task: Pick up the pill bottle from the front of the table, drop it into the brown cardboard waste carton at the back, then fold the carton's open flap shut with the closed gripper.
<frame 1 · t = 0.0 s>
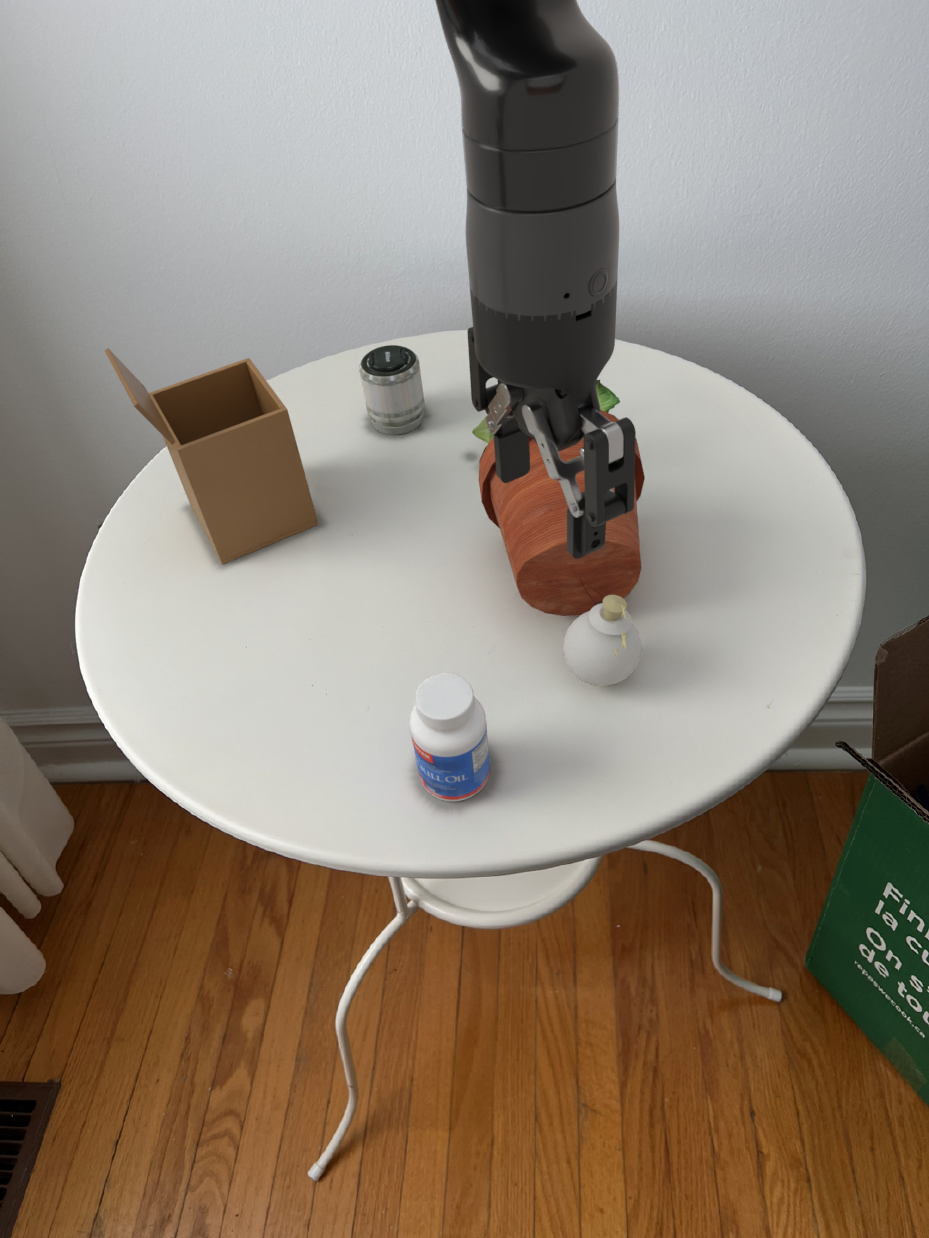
hand: (548, 512, 58), 20 cm above the table, tool pointing down, fingers open, 8 cm apart
potted plant: (551, 502, 89), on the table
flap: (139, 395, 78), point 16 cm above the table, hinge at 110.0°
camera lens: (398, 421, 100), on the table
waste carton: (253, 515, 91), on the table
pill bottle: (455, 774, 70), on the table
white potion bottle: (596, 679, 74), on the table
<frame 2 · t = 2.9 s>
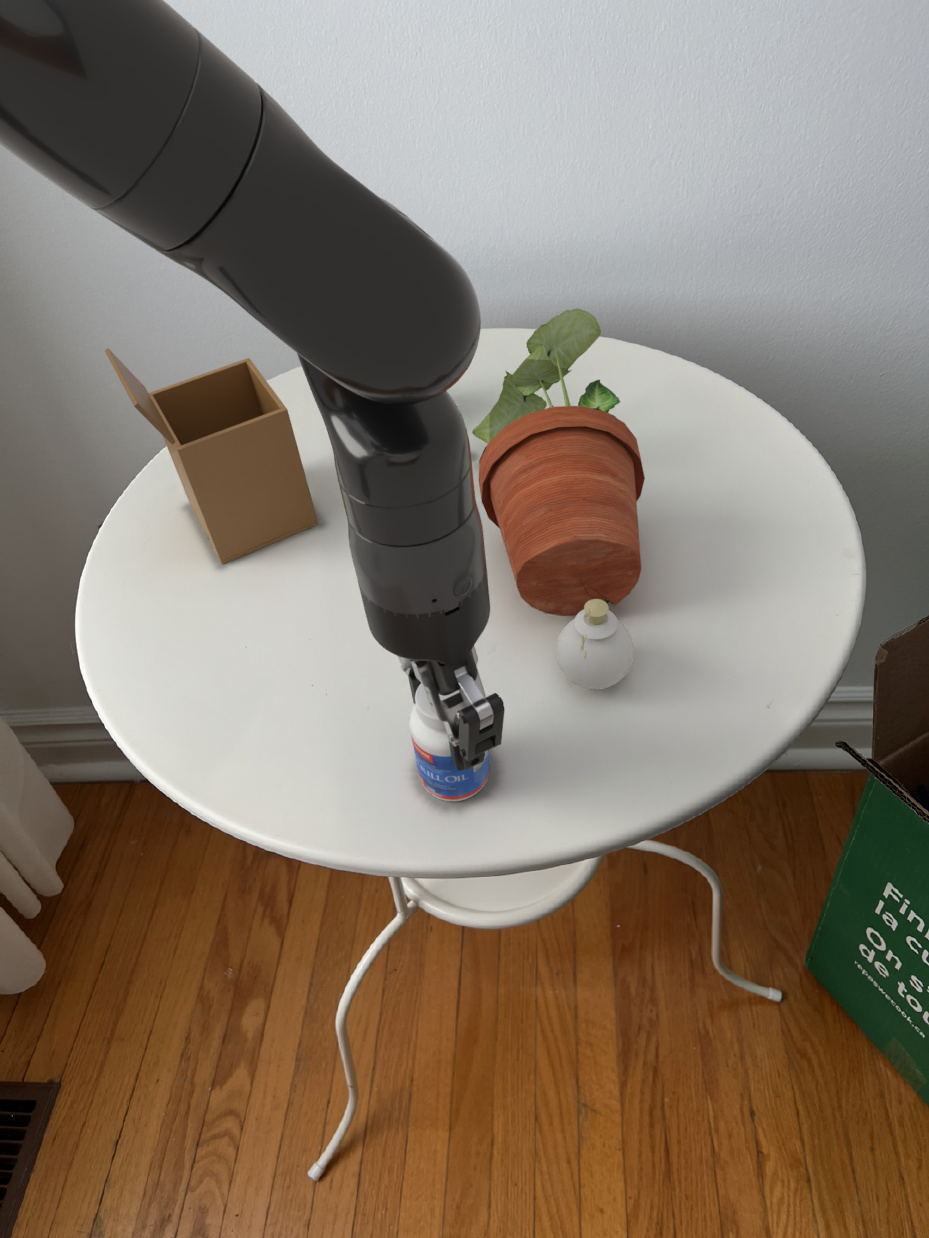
hand: (449, 731, 65), 6 cm above the table, tool pointing down, fingers closed on pill bottle, 5 cm apart
pill bottle: (455, 774, 70), on the table, touching gripper
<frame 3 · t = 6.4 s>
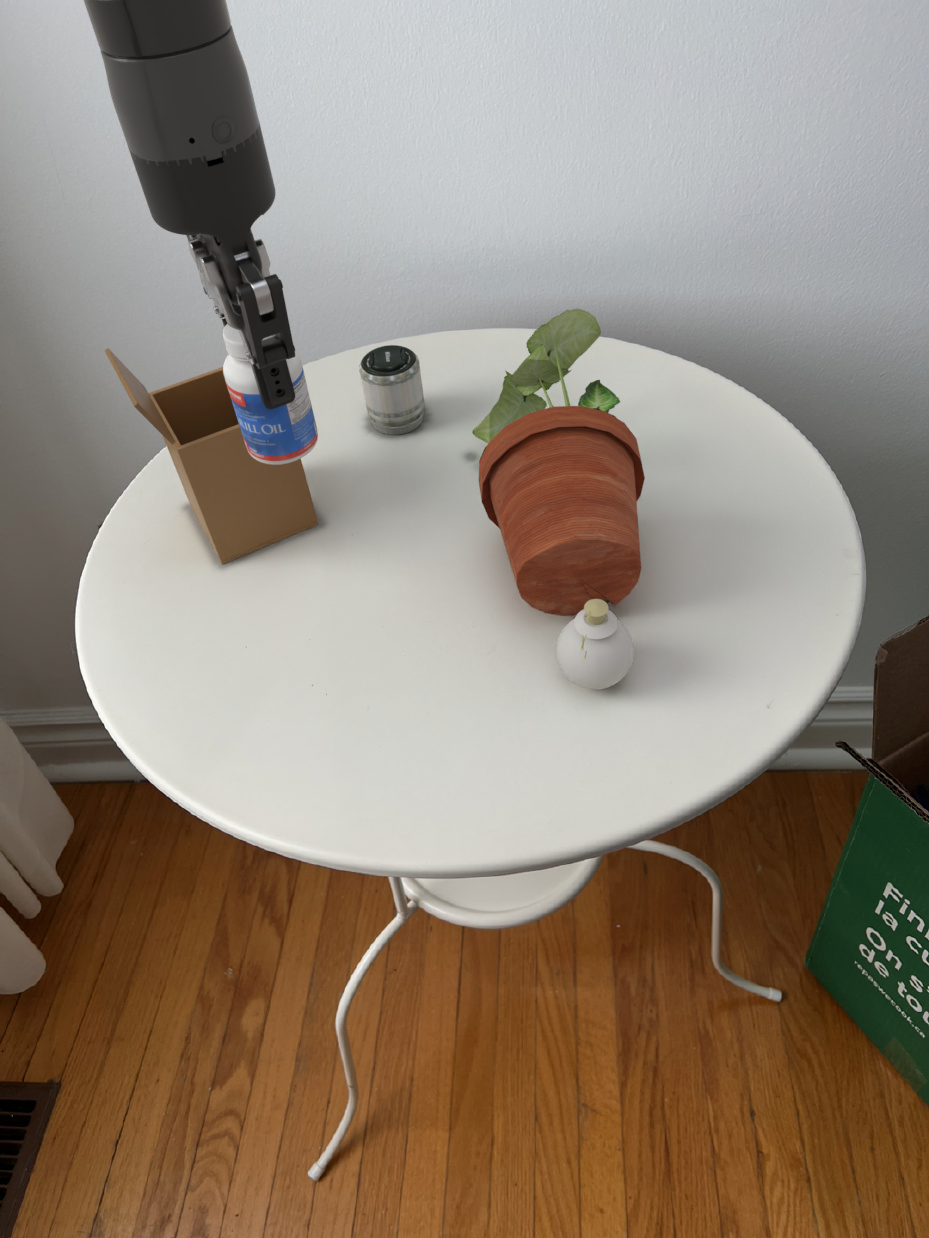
hand: (265, 381, 65), 24 cm above the table, tool pointing down, fingers closed on pill bottle, 5 cm apart
pill bottle: (284, 446, 69), point 18 cm above the table, touching gripper
when the fingers open (16 cm above the table, at t = 9.9 s): pill bottle drops 10 cm, resting on waste carton.
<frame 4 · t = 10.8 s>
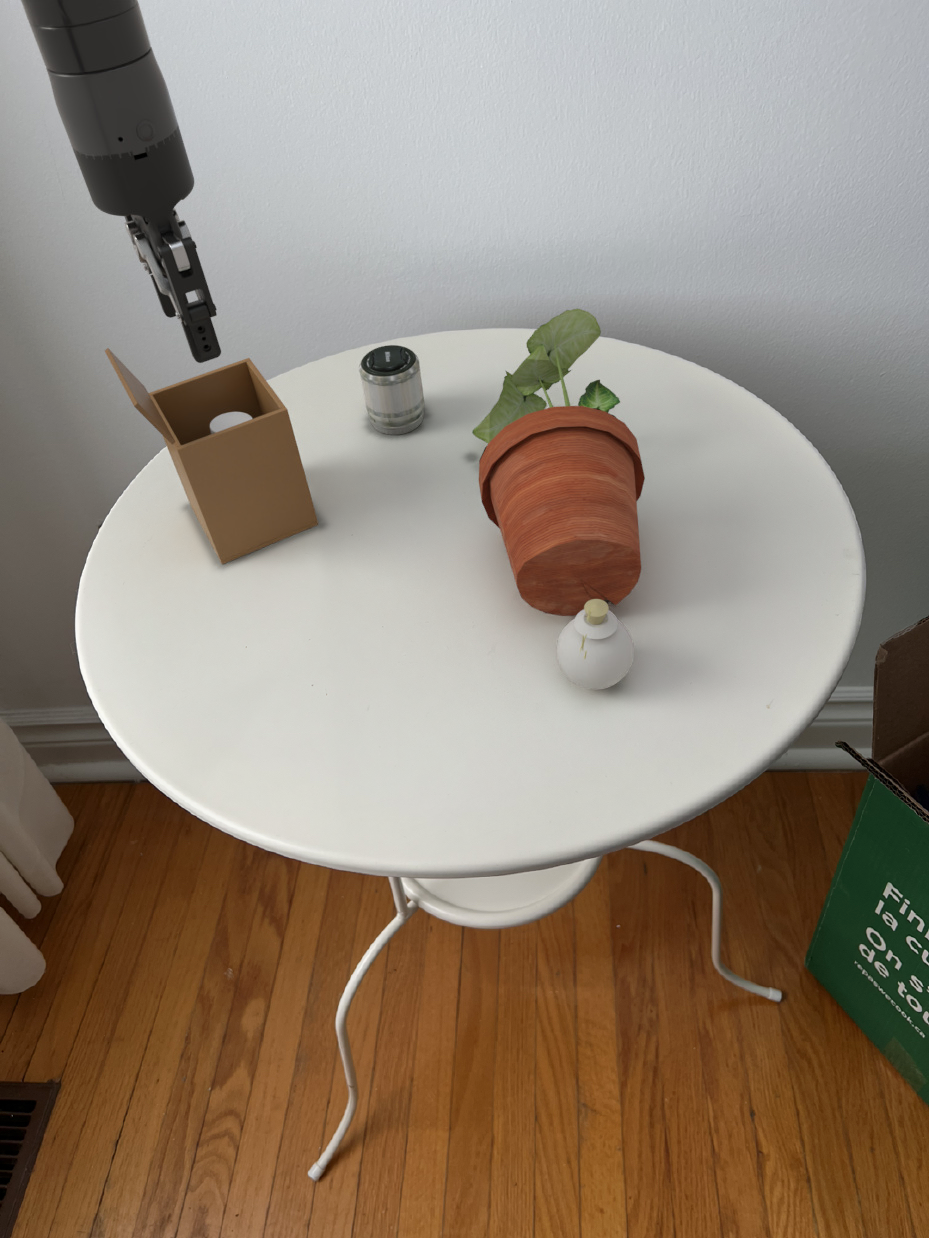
hand: (192, 335, 77), 20 cm above the table, tool pointing down, fingers open, 8 cm apart
pill bottle: (251, 509, 91), point 1 cm above the table, touching waste carton
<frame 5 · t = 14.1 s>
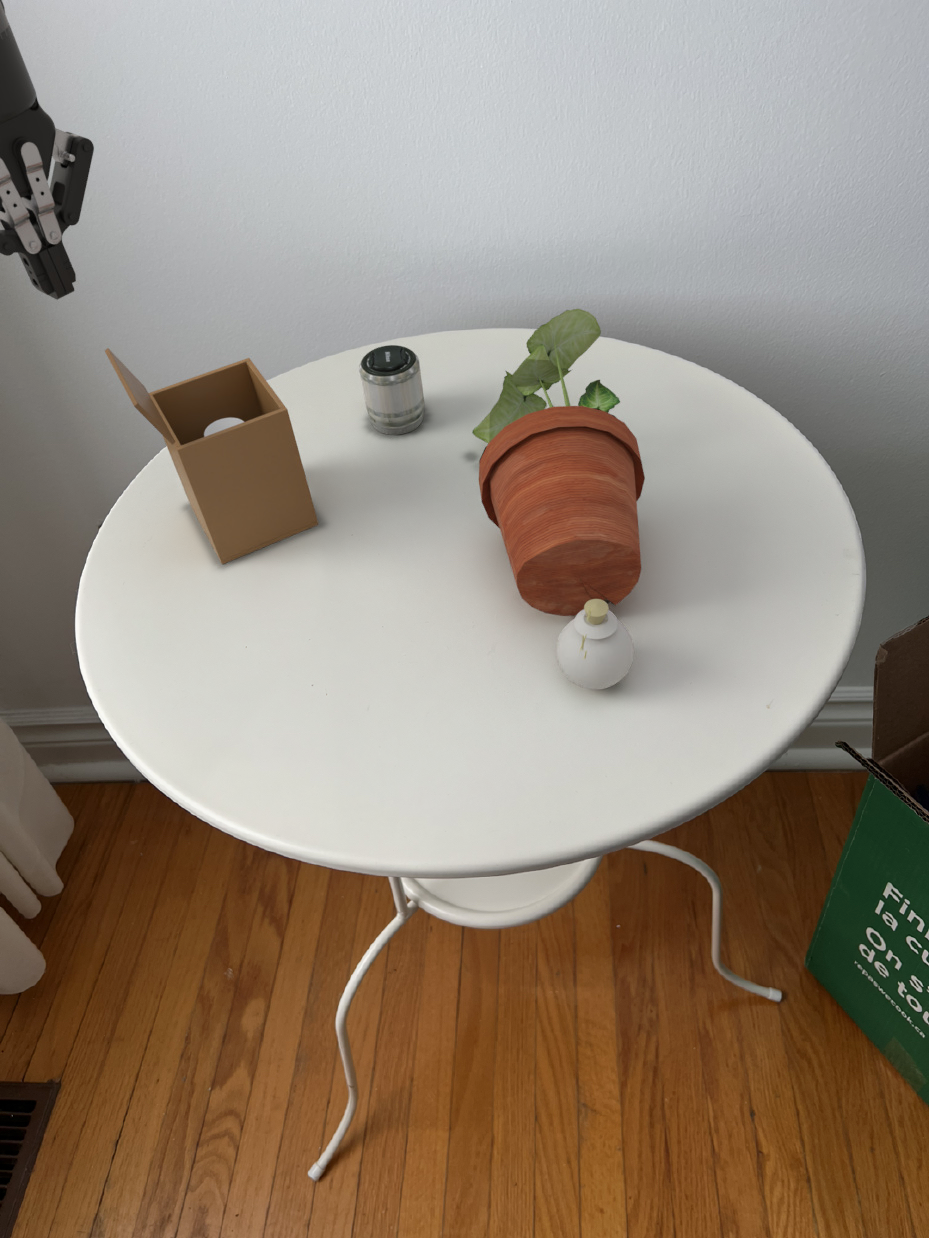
hand: (59, 293, 69), 27 cm above the table, tool pointing down, fingers closed
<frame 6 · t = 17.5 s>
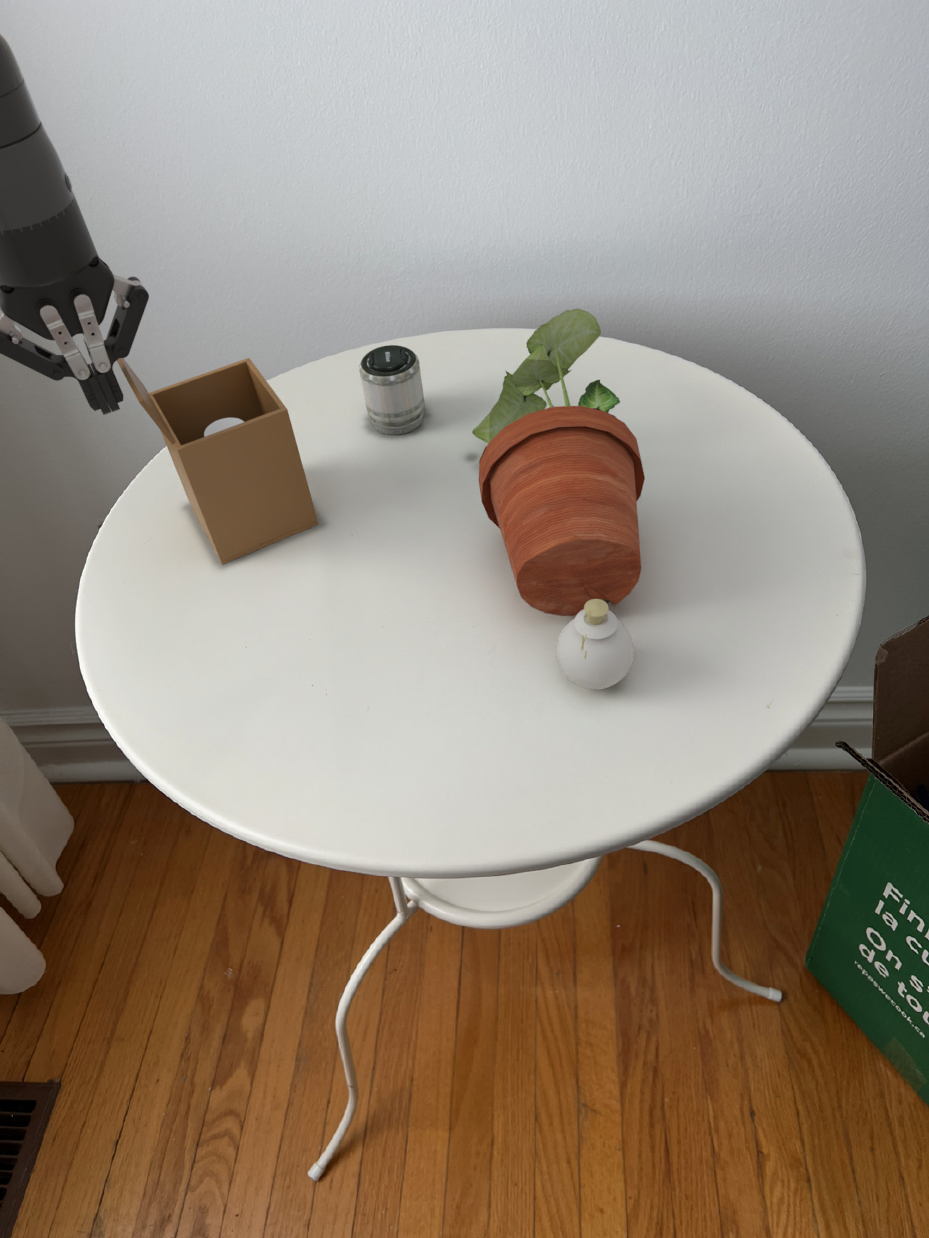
hand: (109, 407, 77), 16 cm above the table, tool pointing down, fingers closed
flap: (142, 394, 78), point 17 cm above the table, hinge at 103.9°, touching gripper
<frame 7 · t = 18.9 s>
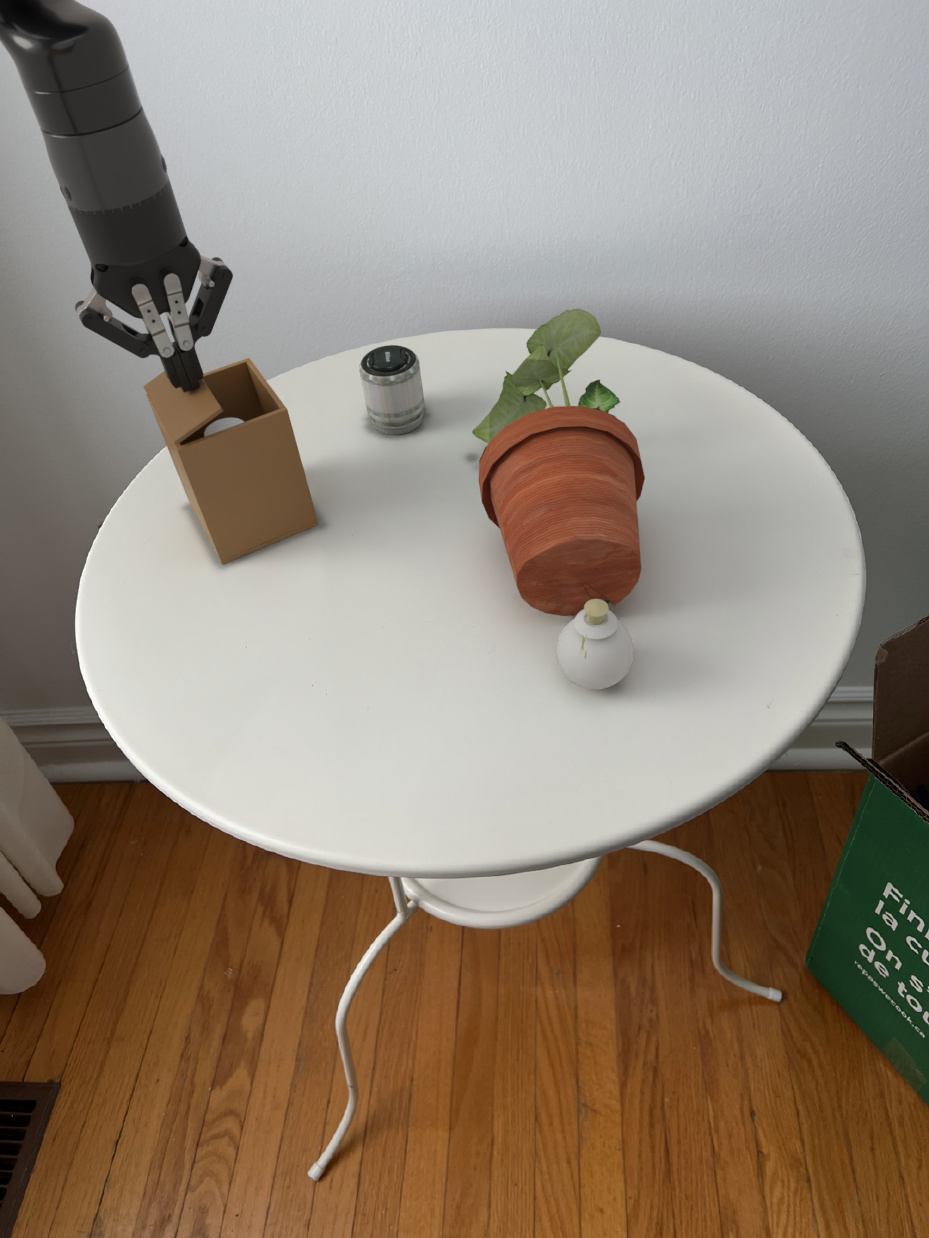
hand: (188, 385, 80), 16 cm above the table, tool pointing down, fingers closed
flap: (181, 398, 80), point 15 cm above the table, hinge at 18.2°, touching gripper
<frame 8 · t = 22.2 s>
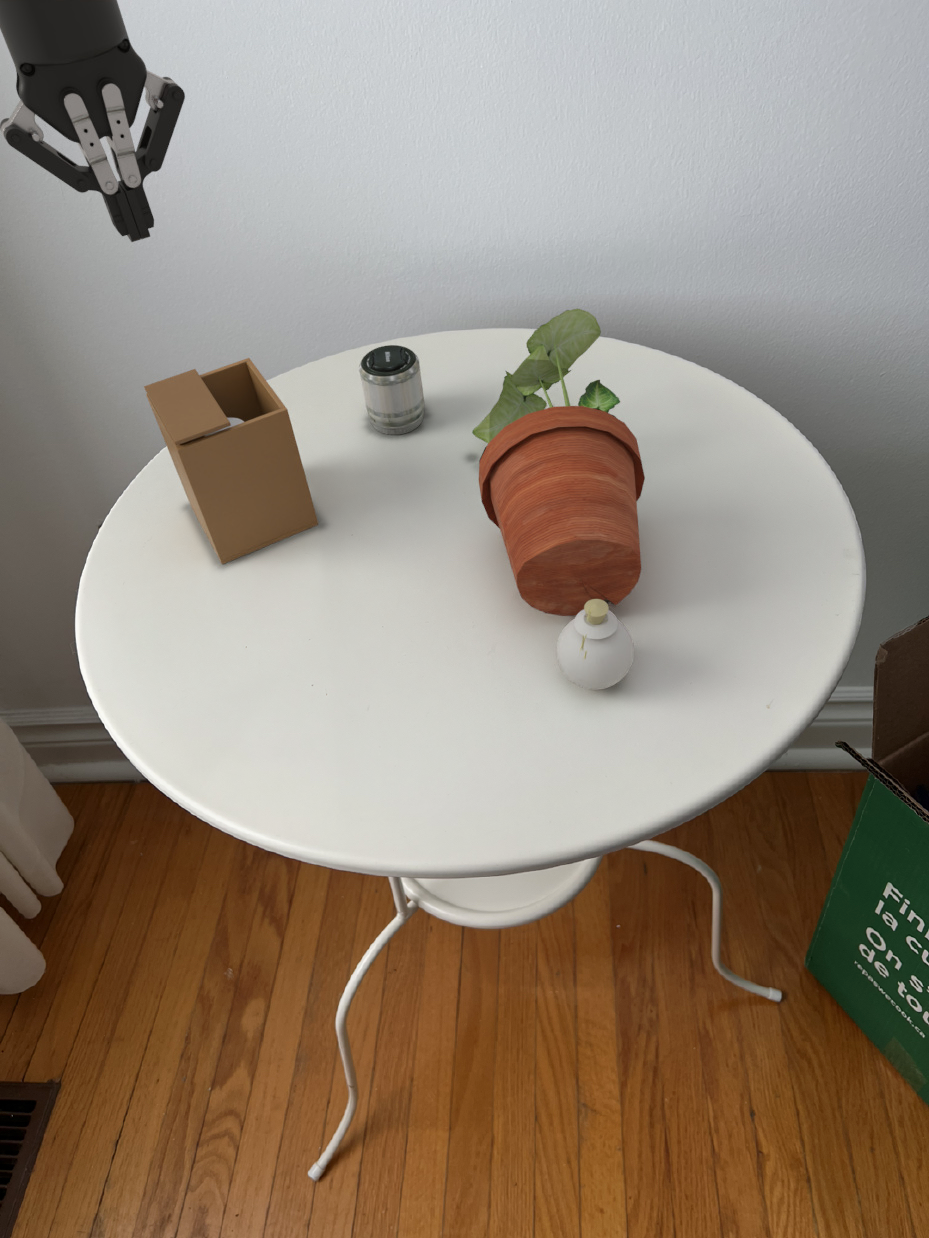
hand: (138, 236, 70), 29 cm above the table, tool pointing down, fingers closed
flap: (186, 405, 80), point 14 cm above the table, hinge at -0.3°
at the end: pill bottle inside the target area in the waste carton (0.3 cm from its centre), point 0.3 cm above the waste carton's base; flap at +0° (first picture: +110°); the gripper is holding nothing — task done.
